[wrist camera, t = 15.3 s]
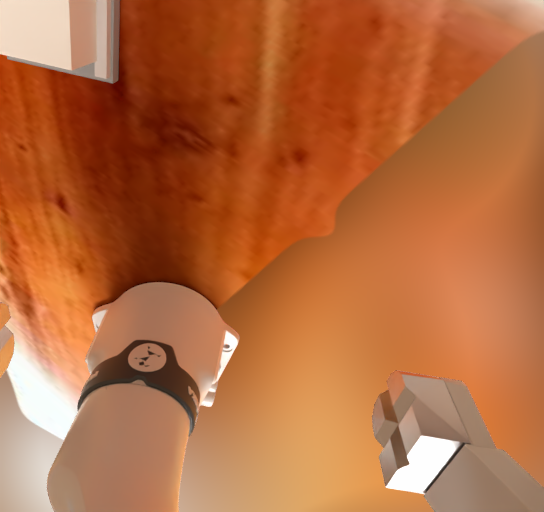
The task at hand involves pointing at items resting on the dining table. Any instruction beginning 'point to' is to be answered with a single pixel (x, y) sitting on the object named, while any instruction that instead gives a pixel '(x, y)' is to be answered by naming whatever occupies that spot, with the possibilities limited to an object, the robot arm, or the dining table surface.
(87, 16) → the rail board
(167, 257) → the dining table surface
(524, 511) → the robot arm
